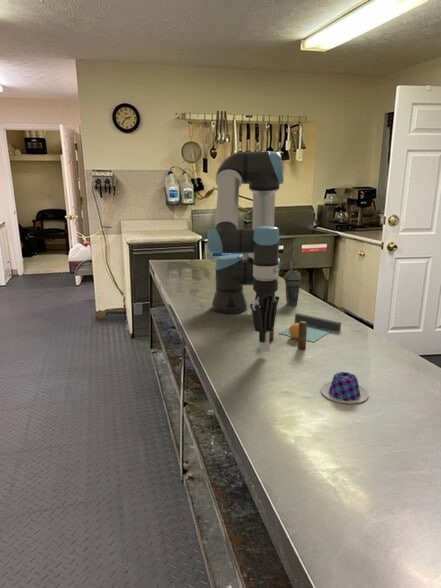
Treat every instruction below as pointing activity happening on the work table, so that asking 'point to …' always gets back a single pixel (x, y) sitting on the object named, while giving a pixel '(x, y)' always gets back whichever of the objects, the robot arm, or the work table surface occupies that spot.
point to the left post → (271, 335)
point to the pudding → (344, 388)
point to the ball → (294, 330)
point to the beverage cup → (292, 286)
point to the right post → (302, 335)
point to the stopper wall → (318, 322)
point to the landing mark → (310, 333)
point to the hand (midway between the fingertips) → (264, 350)
